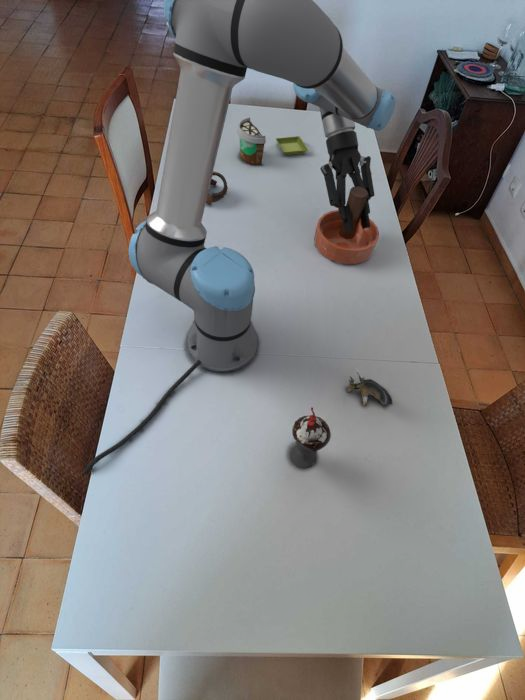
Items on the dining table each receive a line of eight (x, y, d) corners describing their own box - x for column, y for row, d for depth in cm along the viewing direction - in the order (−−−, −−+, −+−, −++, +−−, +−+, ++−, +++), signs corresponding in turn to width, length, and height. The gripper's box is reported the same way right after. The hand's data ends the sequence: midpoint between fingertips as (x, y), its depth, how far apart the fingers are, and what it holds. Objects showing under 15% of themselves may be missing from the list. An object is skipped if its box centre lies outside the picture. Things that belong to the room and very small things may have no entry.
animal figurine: (345, 409, 92) (391, 416, 90) (348, 376, 90) (395, 382, 88) (347, 394, 99) (390, 400, 97) (351, 363, 97) (394, 369, 95)
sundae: (298, 432, 89) (311, 393, 77) (326, 454, 87) (344, 417, 75) (278, 456, 86) (288, 419, 74) (306, 479, 84) (321, 445, 72)
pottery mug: (225, 185, 136) (231, 172, 129) (220, 214, 135) (227, 202, 127) (185, 174, 133) (190, 159, 125) (180, 204, 131) (184, 190, 124)
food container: (230, 150, 148) (231, 119, 140) (247, 147, 149) (249, 116, 141) (245, 170, 141) (247, 139, 133) (263, 167, 143) (266, 136, 135)
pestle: (353, 240, 120) (366, 198, 110) (337, 236, 121) (348, 194, 110) (356, 230, 123) (369, 188, 113) (340, 226, 124) (351, 184, 113)
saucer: (274, 143, 152) (275, 137, 150) (298, 141, 154) (299, 135, 152) (282, 158, 147) (283, 152, 146) (307, 155, 149) (308, 149, 148)
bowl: (368, 272, 118) (374, 256, 114) (307, 257, 120) (311, 240, 116) (376, 234, 128) (382, 218, 124) (320, 220, 130) (324, 204, 125)
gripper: (362, 134, 118) (377, 225, 123) (302, 144, 113) (321, 238, 118) (378, 124, 111) (395, 221, 116) (316, 134, 106) (335, 235, 111)
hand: (357, 229), depth 117 cm, fingers closed on pestle, 4 cm apart
